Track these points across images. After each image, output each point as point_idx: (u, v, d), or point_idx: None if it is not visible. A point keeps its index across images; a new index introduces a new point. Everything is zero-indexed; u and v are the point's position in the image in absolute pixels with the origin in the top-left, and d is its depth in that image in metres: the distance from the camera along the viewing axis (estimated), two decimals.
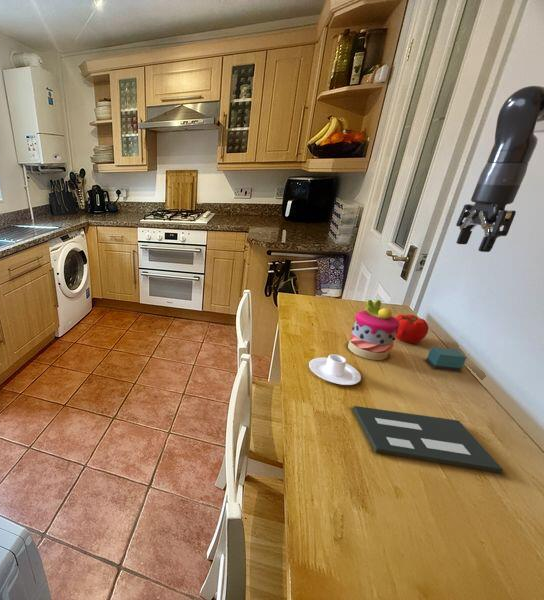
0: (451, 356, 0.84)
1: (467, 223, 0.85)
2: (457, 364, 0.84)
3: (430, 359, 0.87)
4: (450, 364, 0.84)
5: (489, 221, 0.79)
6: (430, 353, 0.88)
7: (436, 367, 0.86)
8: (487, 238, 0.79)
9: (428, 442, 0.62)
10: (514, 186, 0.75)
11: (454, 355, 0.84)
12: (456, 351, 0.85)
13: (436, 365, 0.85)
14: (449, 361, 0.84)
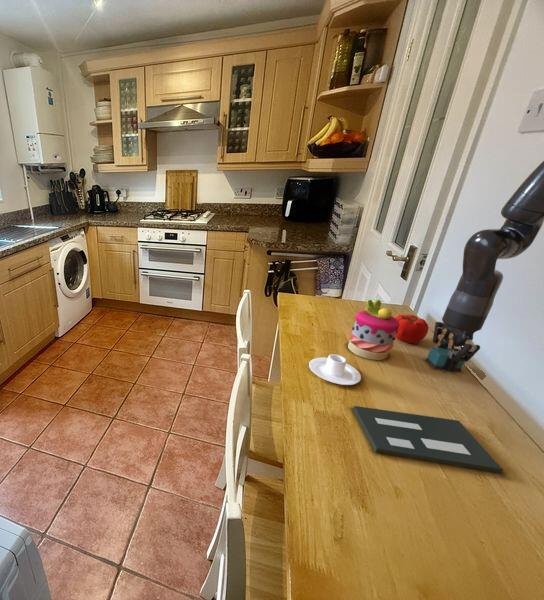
0: None
1: (442, 341, 0.86)
2: (457, 364, 0.84)
3: (430, 359, 0.87)
4: None
5: (459, 344, 0.81)
6: (430, 353, 0.88)
7: (436, 367, 0.86)
8: (450, 360, 0.83)
9: (428, 442, 0.62)
10: (482, 317, 0.77)
11: None
12: (456, 351, 0.85)
13: (436, 365, 0.85)
14: None
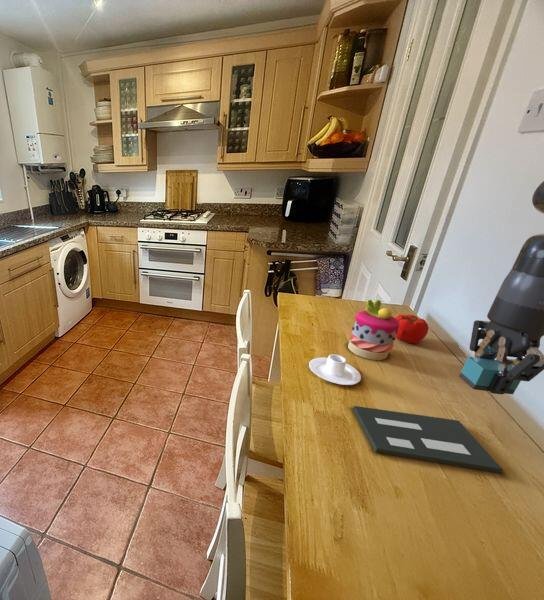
0: None
1: (485, 349, 0.58)
2: None
3: (466, 375, 0.59)
4: None
5: (515, 354, 0.53)
6: (466, 366, 0.60)
7: (476, 387, 0.57)
8: (500, 377, 0.55)
9: (428, 442, 0.62)
10: None
11: None
12: None
13: (476, 384, 0.57)
14: None
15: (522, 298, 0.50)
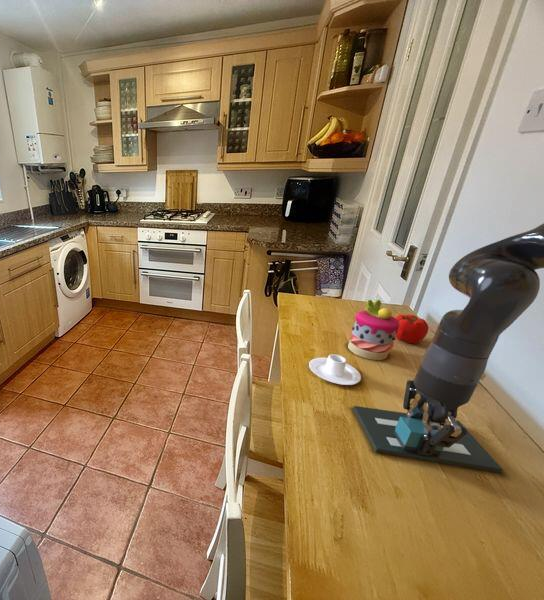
0: None
1: (414, 411, 0.61)
2: None
3: (398, 434, 0.62)
4: None
5: (437, 421, 0.56)
6: (398, 425, 0.62)
7: (406, 448, 0.60)
8: (425, 440, 0.58)
9: None
10: (469, 386, 0.51)
11: (431, 433, 0.58)
12: None
13: (406, 445, 0.60)
14: None
15: (439, 371, 0.53)
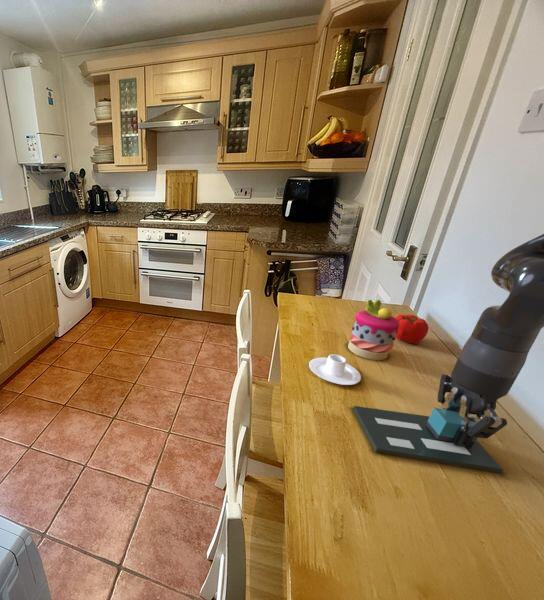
0: None
1: (450, 403, 0.63)
2: None
3: (432, 425, 0.64)
4: None
5: (475, 413, 0.58)
6: (432, 416, 0.64)
7: (440, 438, 0.62)
8: (462, 432, 0.60)
9: (428, 442, 0.62)
10: (510, 379, 0.53)
11: None
12: None
13: (440, 435, 0.62)
14: None
15: (479, 364, 0.55)
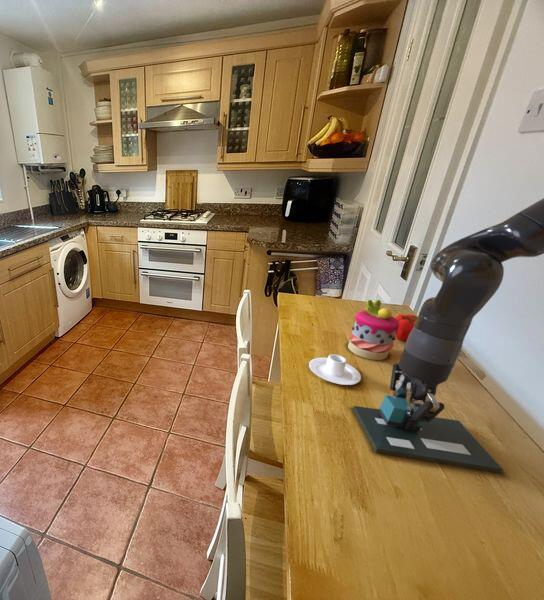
0: None
1: (399, 391, 0.66)
2: None
3: (383, 411, 0.67)
4: None
5: (418, 398, 0.61)
6: (383, 403, 0.68)
7: (389, 423, 0.65)
8: (409, 417, 0.63)
9: (428, 442, 0.62)
10: (447, 365, 0.57)
11: None
12: None
13: (389, 420, 0.65)
14: None
15: (420, 352, 0.58)
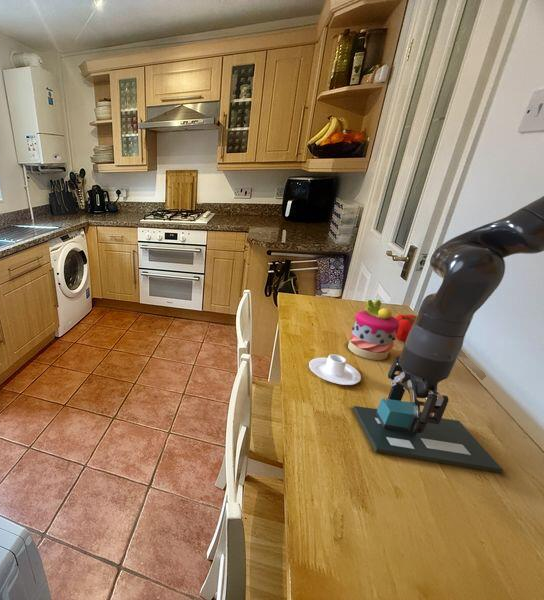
0: (404, 414, 0.63)
1: (397, 383, 0.66)
2: None
3: (380, 414, 0.67)
4: (404, 424, 0.64)
5: (419, 396, 0.60)
6: (380, 406, 0.67)
7: (386, 427, 0.65)
8: (417, 418, 0.60)
9: (428, 442, 0.62)
10: (448, 363, 0.56)
11: (408, 412, 0.63)
12: (412, 406, 0.65)
13: (386, 424, 0.65)
14: (402, 420, 0.64)
15: (420, 349, 0.57)
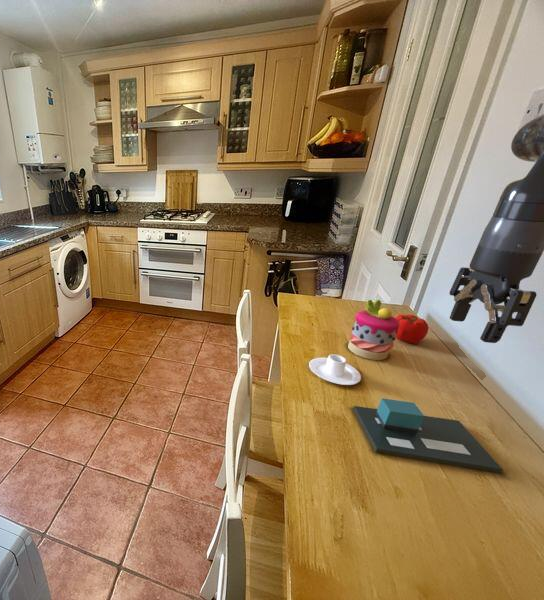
0: (404, 414, 0.63)
1: (464, 295, 0.60)
2: (412, 424, 0.63)
3: (380, 414, 0.67)
4: (404, 424, 0.64)
5: (496, 300, 0.55)
6: (380, 406, 0.67)
7: (386, 427, 0.65)
8: (493, 325, 0.55)
9: (428, 442, 0.62)
10: (534, 255, 0.50)
11: (408, 412, 0.63)
12: (412, 406, 0.65)
13: (386, 424, 0.65)
14: (402, 420, 0.64)
15: (502, 243, 0.52)
